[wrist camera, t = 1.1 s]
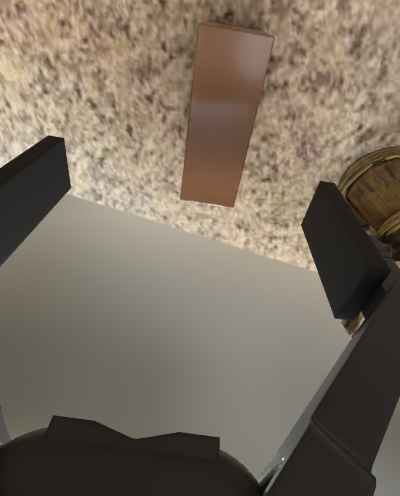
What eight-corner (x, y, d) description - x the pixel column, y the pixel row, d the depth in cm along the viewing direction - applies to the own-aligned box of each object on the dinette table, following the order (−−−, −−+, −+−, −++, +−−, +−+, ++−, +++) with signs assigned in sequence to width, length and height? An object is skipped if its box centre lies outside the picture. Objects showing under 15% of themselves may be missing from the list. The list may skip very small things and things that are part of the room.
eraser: (206, 20, 24) (198, 23, 17) (262, 30, 24) (275, 36, 17) (189, 162, 31) (180, 200, 25) (232, 169, 31) (233, 208, 25)
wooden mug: (297, 152, 30) (360, 278, 16) (442, 143, 28) (657, 273, 14) (288, 226, 35) (330, 367, 21) (410, 221, 34) (541, 370, 20)
